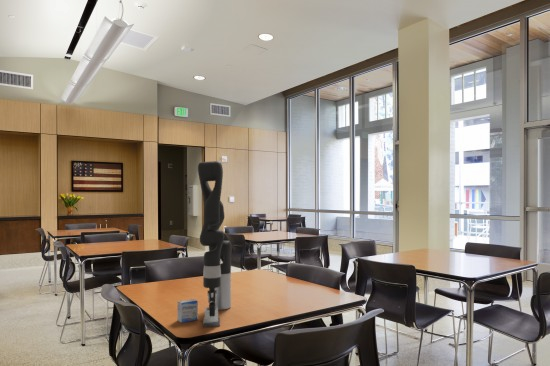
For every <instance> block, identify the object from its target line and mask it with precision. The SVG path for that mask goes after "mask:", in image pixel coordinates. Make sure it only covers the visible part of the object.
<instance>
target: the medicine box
mask: <svg viewBox="0 0 550 366" xmlns="http://www.w3.org/2000/svg"><path fill="white" fill-rule="evenodd" d="M198 302H199V301H198V300H197V299H195V298H193V299H192V298H191V299H186V300H179V301H177V317H176V318H177V322H179V323H181V324H184V323H189V322H193V321H197V320H198V309H199V308H198V305H199V304H198Z"/></svg>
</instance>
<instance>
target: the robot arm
mask: <svg viewBox="0 0 550 366" xmlns="http://www.w3.org/2000/svg"><path fill="white" fill-rule="evenodd" d="M197 172H198V178H199V182H200V183H199V184H200V187H201V193H202V194H201V195H202V198H203V199H202V200H203V224H202V228H201V231H200V235H199V244H201V246H203V247H208V251H206V252H204V254H203V270H202V273H203V275H202V276H203V277H202V278H203V279H202V280H203V281H202V283H203V284H202V286H203V288H205V289H209V290H207V303H208V307H209V308H210V317H211V316H215V307H218V311H220V310H223V311H224V310H228V309H230V308H232V306H231V305H232V302H231V301H232V298H231V297H232V290H231V289H232V279H231V276H232V275H231V274H232V272H231V271H232V252H233V249H232V248H233V246H232V245H233V244H232V242H231V241H230V240H225V233H224V231H223V230H222V229H220V228H221V226H222V225H223V223H224V220H225V211H224V210H225V209H224V204H223V202H222V201H221V195H222V188H223V176H224V175H223V174H224V171H223V165H222V161H219V160H216V161H215V160H214V161H213V160H212V161H200V162H199V163H198V165H197ZM209 182H214V185H213V186H214V187H213V189H212V188H211V186H210V183H209ZM221 260H223V261H222V263H221Z"/></svg>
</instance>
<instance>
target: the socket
mask: <svg viewBox="0 0 550 366" xmlns="http://www.w3.org/2000/svg"><path fill="white" fill-rule="evenodd" d="M204 318H205V323H211V322H218V318H219V310H218V307H215V316H211V317H210V308H209V306H207V307H206V306H205V307H204Z"/></svg>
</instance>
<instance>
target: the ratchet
mask: <svg viewBox="0 0 550 366" xmlns="http://www.w3.org/2000/svg"><path fill="white" fill-rule="evenodd" d="M202 321H203V322H202V327H203V328H209V327H210V328H211V327H221V322H220V321H221V319H220V317H218V322H211V323H205V317H204V318H203V319H202Z"/></svg>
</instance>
